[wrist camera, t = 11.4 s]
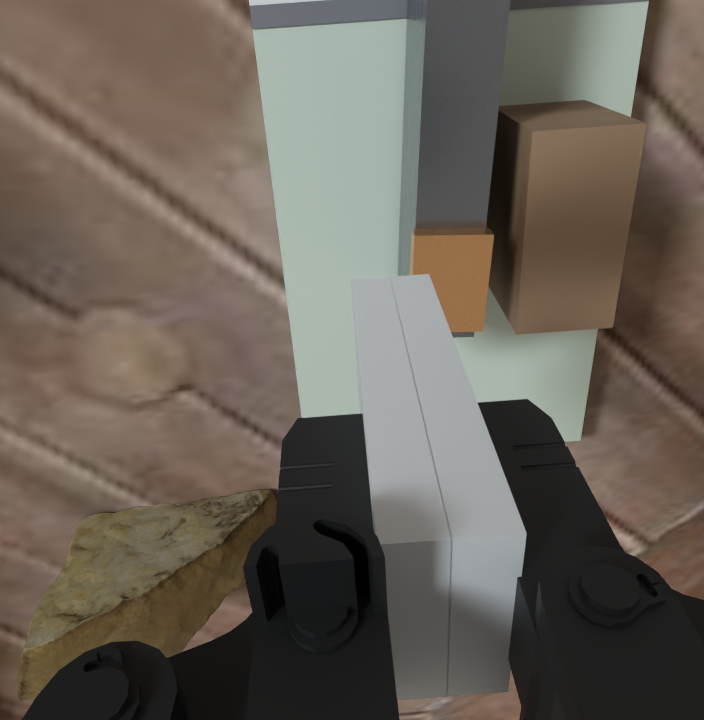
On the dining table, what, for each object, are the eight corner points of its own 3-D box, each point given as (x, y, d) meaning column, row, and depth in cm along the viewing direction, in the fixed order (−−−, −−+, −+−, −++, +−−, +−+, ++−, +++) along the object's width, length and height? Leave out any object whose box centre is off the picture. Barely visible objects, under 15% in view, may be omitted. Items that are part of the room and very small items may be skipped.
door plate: (149, -848, 12) (127, -953, 11) (753, -892, 12) (805, -1002, 11) (308, 439, 28) (307, 461, 27) (568, 420, 28) (580, 441, 27)
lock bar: (395, -377, 14) (421, -524, 10) (532, -375, 14) (611, -519, 10) (380, 287, 23) (392, 348, 19) (467, 285, 23) (497, 345, 19)
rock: (308, 476, 27) (56, 456, 24) (297, 702, 23) (5, 709, 21) (263, 511, 36) (80, 499, 33) (252, 674, 33) (48, 677, 30)
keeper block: (492, 106, 20) (532, 131, 16) (584, 99, 20) (647, 123, 16) (483, 278, 23) (516, 334, 19) (564, 272, 23) (612, 327, 19)
